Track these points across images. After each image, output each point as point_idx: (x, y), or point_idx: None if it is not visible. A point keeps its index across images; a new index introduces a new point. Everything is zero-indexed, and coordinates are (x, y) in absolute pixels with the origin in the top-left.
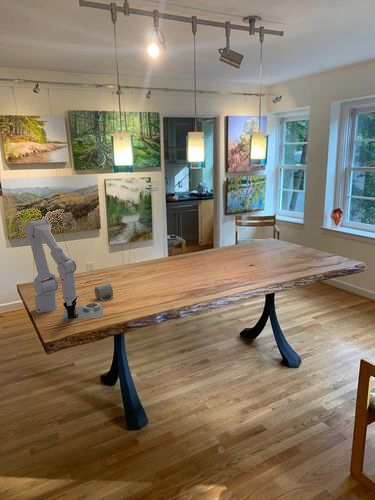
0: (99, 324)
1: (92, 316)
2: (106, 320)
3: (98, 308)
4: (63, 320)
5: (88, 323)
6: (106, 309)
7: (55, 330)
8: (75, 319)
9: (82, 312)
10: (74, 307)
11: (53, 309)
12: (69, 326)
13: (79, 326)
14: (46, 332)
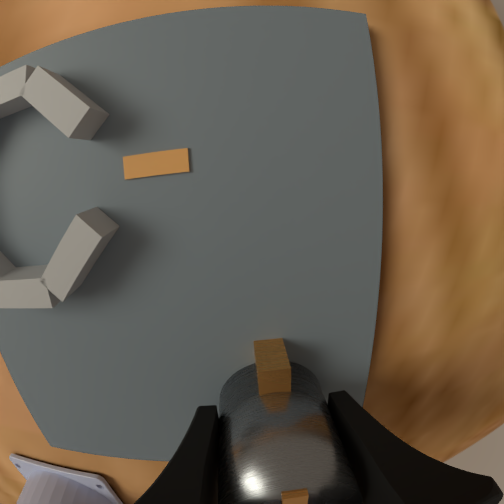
0: (486, 97)
1: (329, 148)
2: (416, 13)
3: (67, 83)
4: None
5: (449, 202)
6: (74, 9)
7: (439, 430)
8: (353, 356)
9: (142, 302)
10: (441, 467)
11: (93, 499)
12: (433, 369)
13: (471, 286)
14: (433, 458)
